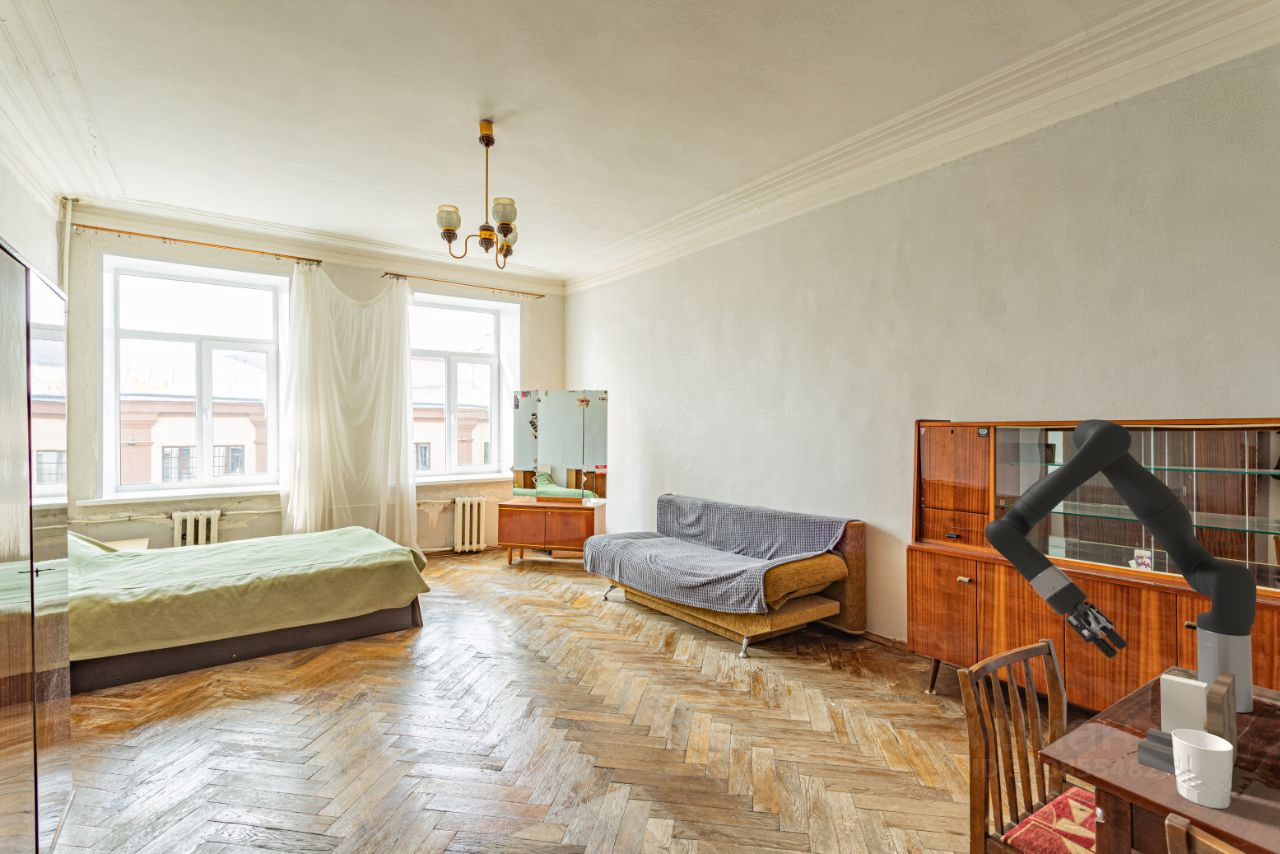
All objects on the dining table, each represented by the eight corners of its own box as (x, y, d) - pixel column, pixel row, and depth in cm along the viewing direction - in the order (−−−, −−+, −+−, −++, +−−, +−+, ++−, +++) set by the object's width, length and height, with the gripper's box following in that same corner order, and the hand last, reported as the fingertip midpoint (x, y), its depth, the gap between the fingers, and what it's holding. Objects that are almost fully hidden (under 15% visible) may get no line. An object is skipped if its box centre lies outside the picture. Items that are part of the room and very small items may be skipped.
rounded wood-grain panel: (1158, 734, 129) (1156, 657, 130) (1237, 756, 120) (1235, 674, 120) (1138, 762, 118) (1136, 678, 119) (1224, 789, 109) (1221, 698, 109)
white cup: (1163, 791, 109) (1161, 734, 109) (1188, 781, 112) (1187, 725, 112) (1219, 816, 102) (1217, 754, 102) (1244, 804, 105) (1243, 745, 105)
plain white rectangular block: (1164, 730, 131) (1163, 673, 131) (1209, 742, 126) (1207, 683, 126) (1161, 734, 129) (1160, 677, 129) (1206, 747, 124) (1205, 687, 124)
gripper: (1060, 585, 138) (1125, 649, 129) (1080, 575, 148) (1141, 635, 139) (1034, 604, 142) (1095, 668, 133) (1054, 594, 152) (1113, 653, 143)
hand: (1119, 651), depth 136 cm, fingers open, 8 cm apart
